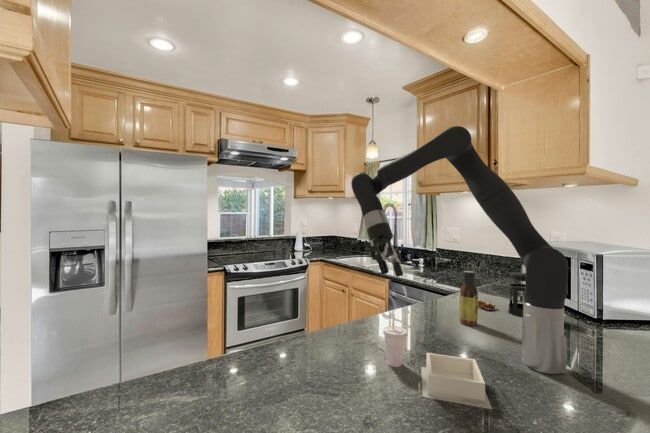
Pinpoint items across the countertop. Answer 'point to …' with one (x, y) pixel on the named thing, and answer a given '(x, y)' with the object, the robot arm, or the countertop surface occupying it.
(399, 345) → the smoothie
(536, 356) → the robot arm
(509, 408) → the countertop surface
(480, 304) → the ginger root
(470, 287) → the sauce bottle
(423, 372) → the mat
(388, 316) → the countertop surface
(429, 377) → the cream open box
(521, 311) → the french press
